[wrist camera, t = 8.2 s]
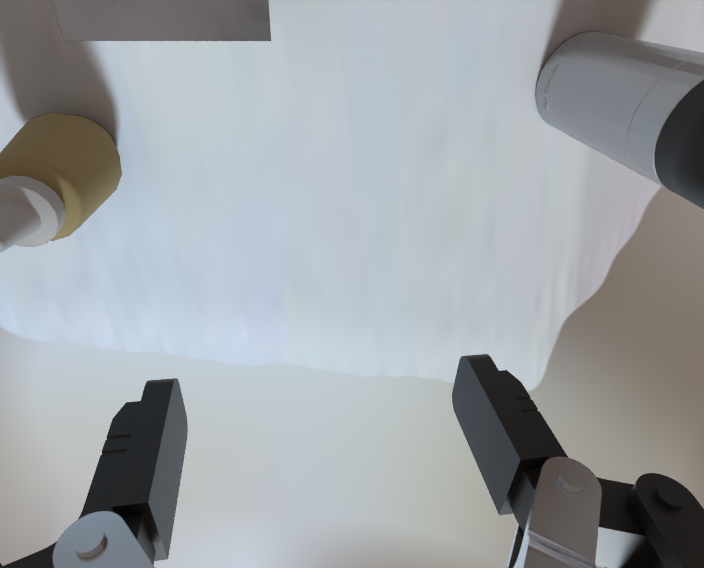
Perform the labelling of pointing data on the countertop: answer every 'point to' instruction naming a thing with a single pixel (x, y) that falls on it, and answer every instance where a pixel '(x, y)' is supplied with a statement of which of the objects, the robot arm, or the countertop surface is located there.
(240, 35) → the drawer with knob
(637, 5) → the countertop surface
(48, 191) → the squeeze bottle
